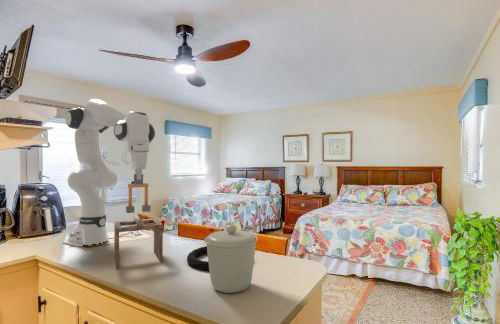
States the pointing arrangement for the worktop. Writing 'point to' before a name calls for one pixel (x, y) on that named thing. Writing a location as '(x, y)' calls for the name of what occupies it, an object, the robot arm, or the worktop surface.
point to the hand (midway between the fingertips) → (138, 179)
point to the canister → (231, 259)
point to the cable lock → (195, 262)
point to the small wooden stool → (137, 221)
